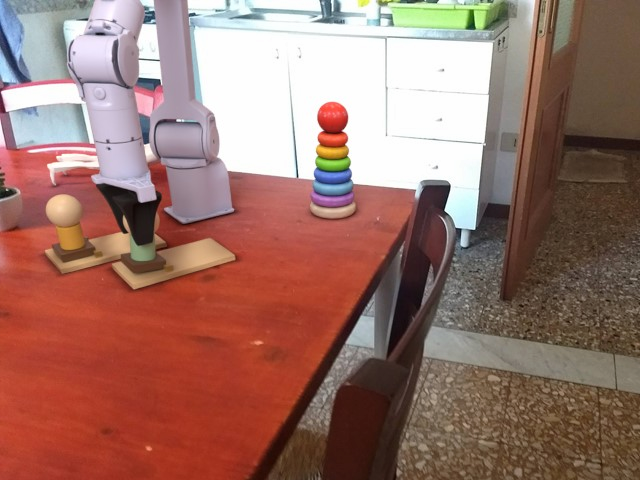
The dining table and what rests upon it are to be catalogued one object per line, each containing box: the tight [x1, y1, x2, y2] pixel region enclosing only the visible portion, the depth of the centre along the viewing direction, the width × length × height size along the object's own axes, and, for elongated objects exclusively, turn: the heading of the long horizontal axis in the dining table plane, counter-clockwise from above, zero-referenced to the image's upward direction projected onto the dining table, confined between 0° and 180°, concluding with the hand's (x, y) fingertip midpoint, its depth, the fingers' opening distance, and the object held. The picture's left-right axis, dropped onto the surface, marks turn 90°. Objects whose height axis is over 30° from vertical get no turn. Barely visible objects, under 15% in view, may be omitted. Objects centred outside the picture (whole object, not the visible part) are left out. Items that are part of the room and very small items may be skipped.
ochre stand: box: [44, 231, 168, 275], centre depth 94 cm, size 15×8×2 cm, turn 131°
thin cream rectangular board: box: [111, 237, 236, 290], centre depth 91 cm, size 15×8×2 cm, turn 131°
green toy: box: [120, 211, 166, 273], centre depth 86 cm, size 9×5×5 cm
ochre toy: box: [45, 193, 96, 262], centre depth 90 cm, size 9×5×5 cm
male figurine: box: [46, 143, 161, 187], centre depth 122 cm, size 14×6×25 cm
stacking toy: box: [309, 101, 357, 220], centre depth 106 cm, size 8×8×19 cm
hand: (137, 237), depth 86 cm, fingers closed on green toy, 4 cm apart
